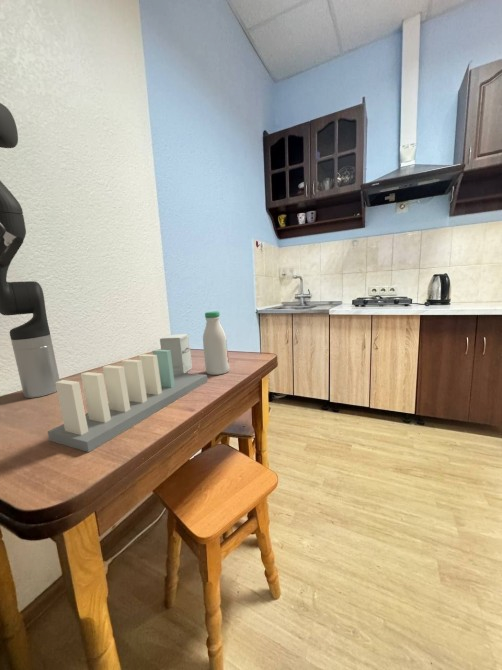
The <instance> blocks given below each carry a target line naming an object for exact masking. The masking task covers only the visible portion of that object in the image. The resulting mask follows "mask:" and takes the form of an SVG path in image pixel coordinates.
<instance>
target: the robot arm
mask: <svg viewBox="0 0 502 670" xmlns="http://www.w3.org/2000/svg"><path fill="white" fill-rule="evenodd" d="M18 143H19V135H18V128H17V124H16V121H15V118H14V115H13V114H12V112H11V111H10V109H9V108H8V107H7V106H5V105H4V104H3V103H0V148H2V149H14V148H15V147H17V145H18ZM17 199H18V198H16V197H15V196H14V195H13V193H12V192H11V191H10V190H9V189H8V187H7V186H6V185H5V184H4V183H3V182H2V180H0V315H2V316H17V315H19V316H20V315H28V314H33V315H32V317H31V318H30V319H29V320H28V321H27V322H24V323H22V324H20V325H19V326H16V327H15V326H14V327H13V328H11V329H10V330H9V337H10V341H11V345H12V350H13V354H14V358H15V362H16V363H15V364H16V367H17V371H18V376H19V381H20V384H21V389H22V394H23V397H24V398H27V399H29V398H30V399H31V398H38V397H44V396H48V395H52V394H54V393H57V389H56V384H55V382H58V381H61V380H60V375H59V370H58V365H57V360H56V355H55V351H54V346H53V341H52V337H51V331H50V326H49V322H48V321H49V320H48V317H47V310H46V302H45V301H46V300H45V295H44V292H43V287H42V286H41V284H40V283H39V282H37V281H33V280H32V281H30V280H29V281H28V280H27V281H26V280H25V281H7V276H8V271H9V267H10V265H11V262H12V261H13V259H14V258H15V256H16V254H17V252H18V251H19V250H20V248H21V246H22V245H23V244H24V240H25V238H26V235H27V229H26V223H25V217H24V212H23V211H24V210H23V208H22V206H21V204H20V202H19V201H18V200H17Z"/></svg>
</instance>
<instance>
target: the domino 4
mask: <svg viewBox="0 0 502 670" xmlns="http://www.w3.org/2000/svg"><path fill="white" fill-rule="evenodd" d="M121 366H123V367H124V372H125V378H126V384H127V391H128V397H129V401H134V402H140V403H144V402H145V401H147V395H146V388H145V381H144V375H143V368H142V361H141V360H139V359H126V358H125V359H123V360H121Z"/></svg>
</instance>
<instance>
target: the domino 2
mask: <svg viewBox="0 0 502 670" xmlns="http://www.w3.org/2000/svg"><path fill="white" fill-rule="evenodd" d="M80 377H81V382H82V384H81V385H82V388H83V395H84V399H85V403H86V404H85V405H86V409H87V413H88V416H89V419H90V420H95V421H99V422H104V423H106V422H107V421H109V420H111V416H110V410H109V405H108V403H109V402H108V396H107V390H106V384H105V379H104V373H101V372H100V373H99V372H88V371H86V372H83V373H81V374H80Z"/></svg>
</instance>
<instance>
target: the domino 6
mask: <svg viewBox="0 0 502 670" xmlns="http://www.w3.org/2000/svg"><path fill="white" fill-rule="evenodd" d="M152 355H157V360H158V367H159V374H160V382H161V387H169V388H172V387H174V386H175V382H174V374H173V366H172V358H171V351H170V350H161V349H154V350H152Z"/></svg>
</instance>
